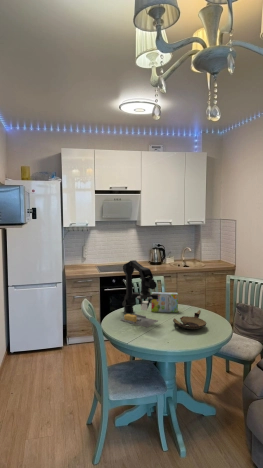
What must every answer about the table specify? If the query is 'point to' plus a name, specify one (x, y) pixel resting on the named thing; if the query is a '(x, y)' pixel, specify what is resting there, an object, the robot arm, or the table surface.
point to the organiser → (141, 321)
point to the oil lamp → (191, 321)
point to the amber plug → (130, 317)
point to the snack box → (165, 302)
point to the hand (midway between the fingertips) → (144, 307)
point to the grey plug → (144, 305)
